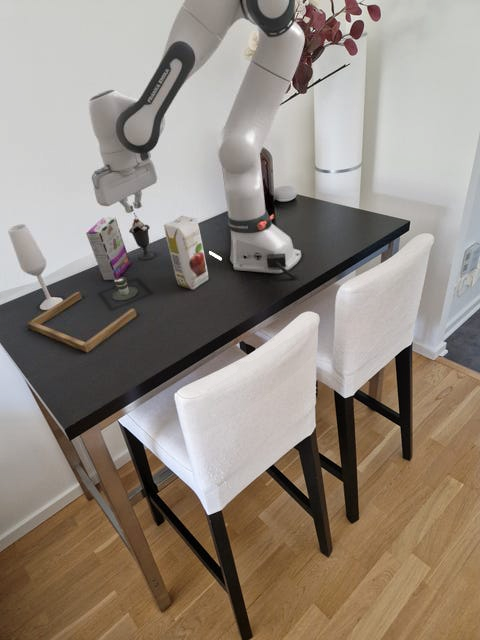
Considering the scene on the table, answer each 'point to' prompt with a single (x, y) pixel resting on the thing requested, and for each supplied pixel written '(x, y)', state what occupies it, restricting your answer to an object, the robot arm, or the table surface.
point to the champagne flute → (31, 259)
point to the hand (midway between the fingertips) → (134, 209)
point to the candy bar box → (108, 248)
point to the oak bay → (71, 341)
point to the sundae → (141, 237)
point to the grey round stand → (123, 290)
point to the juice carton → (186, 251)
